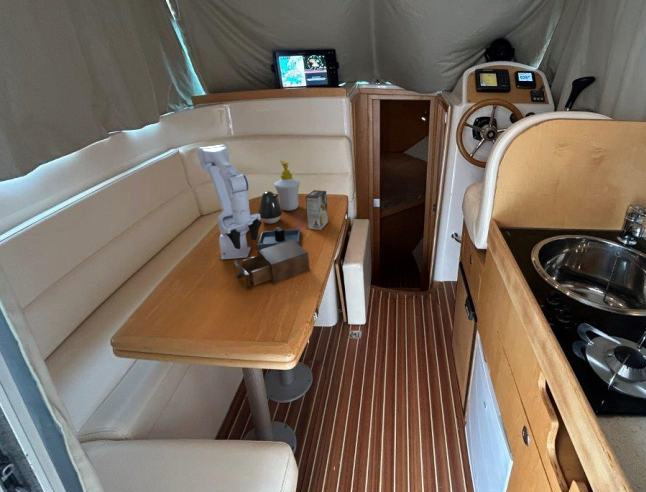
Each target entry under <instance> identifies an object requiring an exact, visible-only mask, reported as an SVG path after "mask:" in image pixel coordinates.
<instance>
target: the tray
mask: <svg viewBox="0 0 646 492" xmlns="http://www.w3.org/2000/svg"><path fill="white" fill-rule="evenodd" d="M284 234H285V240H284V241H280V242H278V241H275V233H274V230H265V231H261V233H260V236H259V239H258V242H257V249H258V250H261V249H264V248H267V247H271V246H274V245H277V244H280V243H283V242H287V241H290V240H293V241H294V242H296V243H297V244H298V245H300V240H301V229H300V228H297V229H296V228H295V229H294V228H293V229H284Z"/></svg>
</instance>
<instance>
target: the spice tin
mask: <svg viewBox="0 0 646 492" xmlns="http://www.w3.org/2000/svg"><path fill="white" fill-rule="evenodd" d="M284 230H285V228H284V227H283V226H277V227H274V229H273V231H274V233H275V241H278V242H280V241H284V240H285V234H284Z"/></svg>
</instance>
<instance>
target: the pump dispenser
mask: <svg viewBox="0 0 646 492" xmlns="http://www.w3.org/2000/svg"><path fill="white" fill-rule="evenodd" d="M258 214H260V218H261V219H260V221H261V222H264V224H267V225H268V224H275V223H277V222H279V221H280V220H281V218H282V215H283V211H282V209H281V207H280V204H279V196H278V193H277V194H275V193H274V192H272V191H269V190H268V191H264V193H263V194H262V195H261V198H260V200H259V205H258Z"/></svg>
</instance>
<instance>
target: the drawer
mask: <svg viewBox="0 0 646 492" xmlns="http://www.w3.org/2000/svg"><path fill="white" fill-rule="evenodd" d="M233 267H234V273H235V277H236V279H237V280H238V281H240V283H241V284H242V285H243V287H244V288H245V289H246V290H247V291H249V290H252V285H253V287H254V286H257V285H260V284H263V283H265V282H269V281H271V279H273V278H272V270H271V265H270V264H269V263H268V262H267V261H266V260H265V259H264V258H263V257H262V256H261V255H258V254H257V255H253V256H250V257H246V258H243V259H242V260H241V263H240V261H238V260H233ZM251 284H252V285H251Z"/></svg>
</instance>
